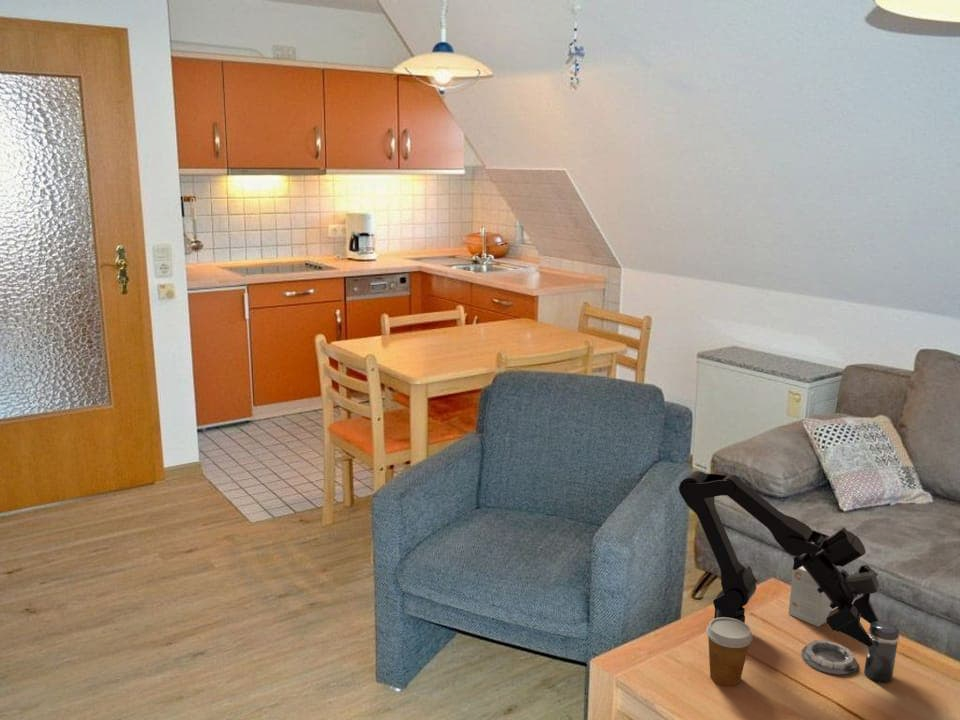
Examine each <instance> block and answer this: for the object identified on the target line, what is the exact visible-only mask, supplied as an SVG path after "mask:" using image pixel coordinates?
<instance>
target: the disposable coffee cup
mask: <svg viewBox="0 0 960 720" xmlns="http://www.w3.org/2000/svg"><path fill="white" fill-rule="evenodd" d="M705 630H706V634H707V638H708V652H709V653H708V659H709V678H710V679H711V680H712V681H713V682H714V683H716V684H718V685H720V686H725V687H734V686H735V687H736V686H737V685H739V684H740V683H741V679H742V675H743V670H744V667H745V663H746V660H747V659H746V658H747V654H748V651H749V646H750V644H751V642H752V641H753V639H754V636H753V634H752V632H751V631H752V630H751V628H750V627H749V625H748V624H746V622H745V623H744V622H742V621H740V620H737V619H734V618H727V617H719V618H715V619H714V618H713V619H711V620H710V621H709V623H708V625H707V626H706V629H705Z"/></svg>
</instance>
